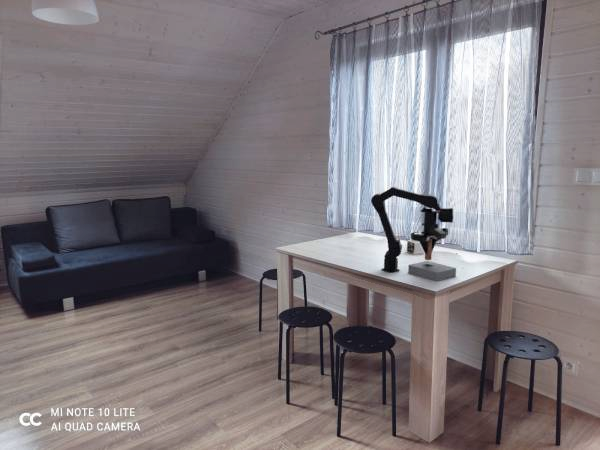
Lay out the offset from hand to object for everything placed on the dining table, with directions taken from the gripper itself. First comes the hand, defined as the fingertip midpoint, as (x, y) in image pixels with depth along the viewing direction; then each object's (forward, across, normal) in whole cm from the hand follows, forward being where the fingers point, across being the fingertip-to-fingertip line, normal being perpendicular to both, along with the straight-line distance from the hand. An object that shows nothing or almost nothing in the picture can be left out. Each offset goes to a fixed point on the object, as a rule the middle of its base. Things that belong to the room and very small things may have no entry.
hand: (428, 253), depth 217 cm
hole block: (+10, 0, -3) cm, 10 cm away
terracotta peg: (+3, 0, 0) cm, 3 cm away
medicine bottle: (+10, +29, +32) cm, 44 cm away
